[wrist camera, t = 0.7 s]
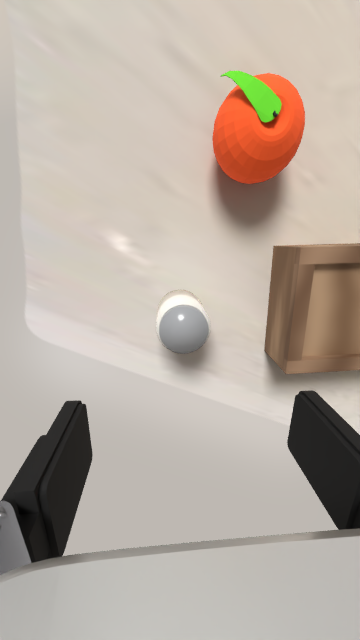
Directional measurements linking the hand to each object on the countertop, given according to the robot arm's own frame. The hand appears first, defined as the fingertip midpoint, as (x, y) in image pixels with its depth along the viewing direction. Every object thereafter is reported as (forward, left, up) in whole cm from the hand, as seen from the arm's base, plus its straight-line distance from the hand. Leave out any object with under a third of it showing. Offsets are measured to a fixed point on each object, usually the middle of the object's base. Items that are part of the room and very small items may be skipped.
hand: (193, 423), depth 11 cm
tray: (-16, -1, -18) cm, 24 cm away
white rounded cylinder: (0, 0, -18) cm, 18 cm away
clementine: (-6, -16, -18) cm, 25 cm away
